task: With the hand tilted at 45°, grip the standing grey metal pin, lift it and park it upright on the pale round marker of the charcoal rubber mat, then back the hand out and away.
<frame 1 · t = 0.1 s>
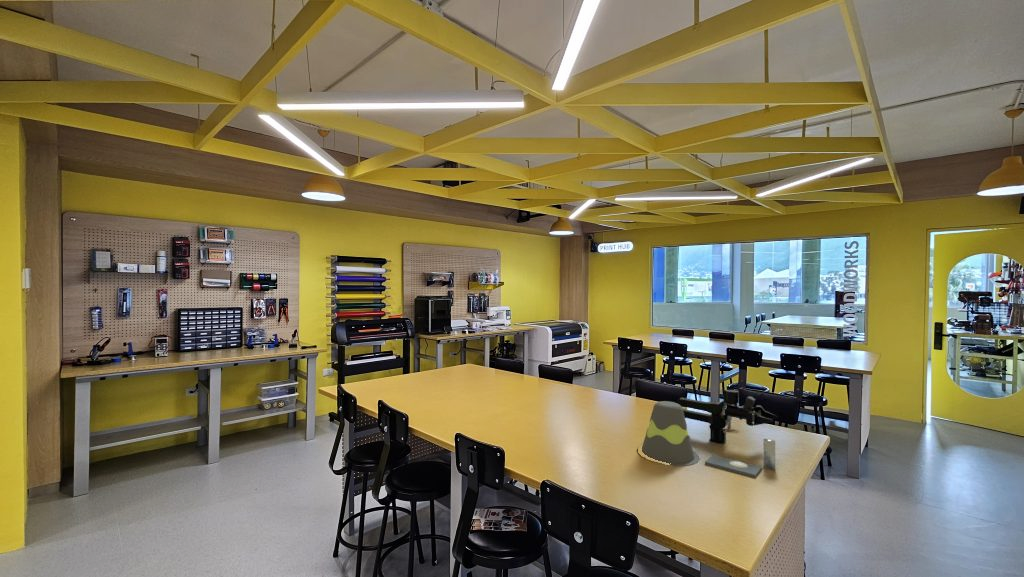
hand: (774, 418, 201), 17 cm above the table, tool horizontal, fingers open, 9 cm apart
metal pin: (769, 467, 185), on the table
mechanical component: (729, 427, 240), on the table
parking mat: (732, 466, 185), on the table
grey tapered cylinder: (667, 454, 200), on the table
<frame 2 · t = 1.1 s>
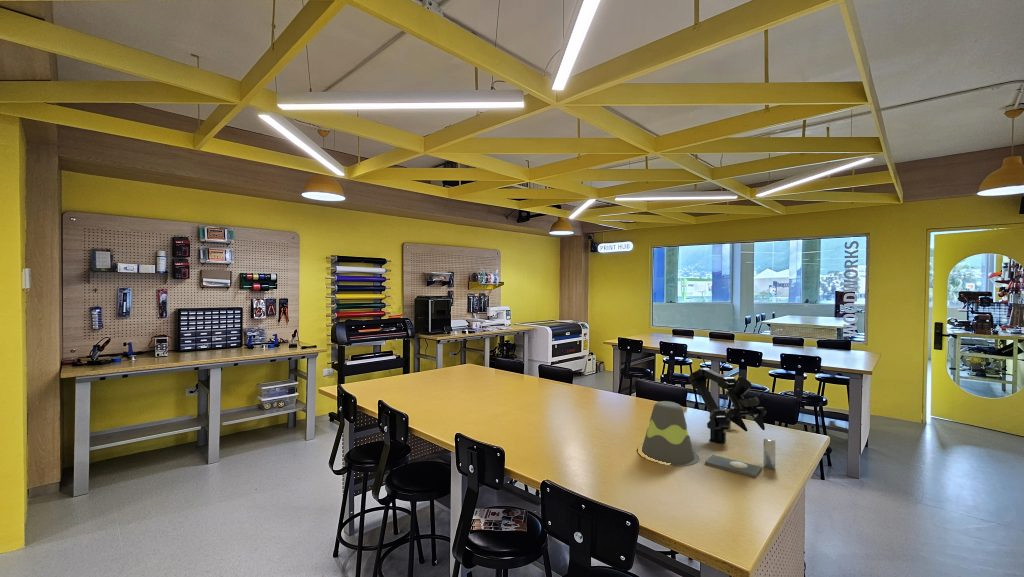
hand: (755, 430, 193), 14 cm above the table, tool tilted 45°, fingers open, 9 cm apart
nothing on the table moved.
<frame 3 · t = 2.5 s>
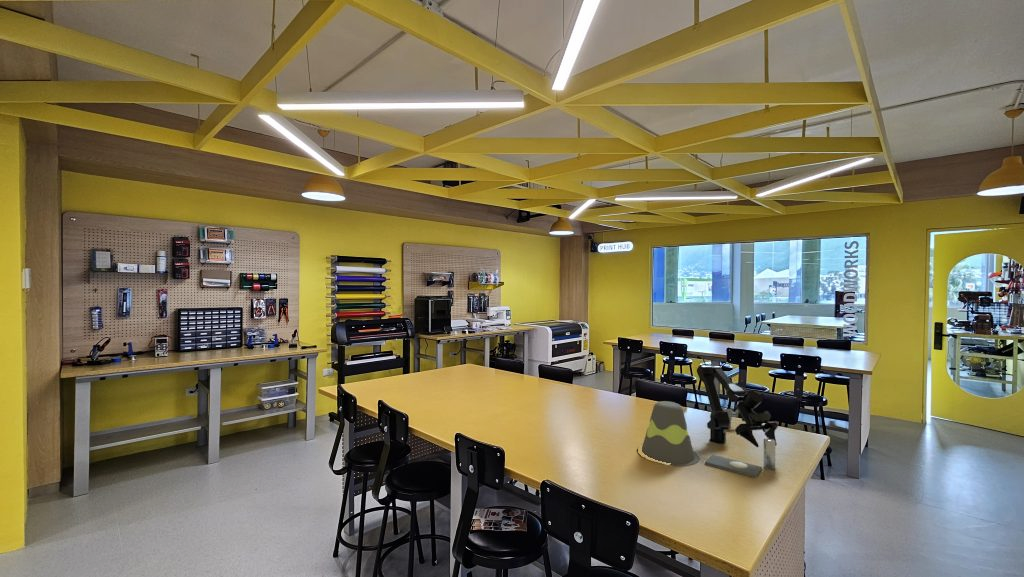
hand: (766, 446, 186), 9 cm above the table, tool tilted 45°, fingers open, 9 cm apart
nothing on the table moved.
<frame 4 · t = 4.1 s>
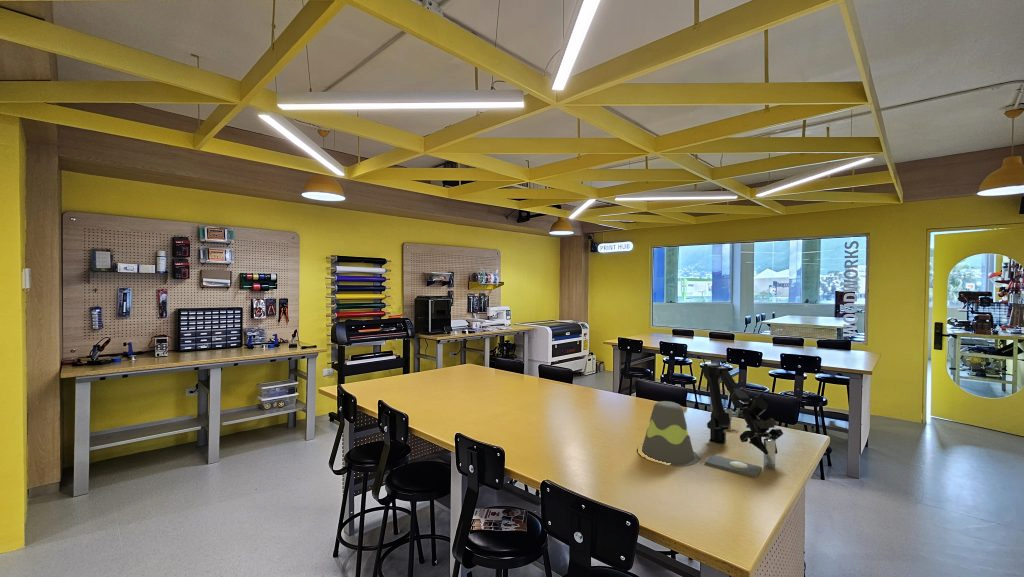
hand: (772, 453, 183), 7 cm above the table, tool tilted 45°, fingers closed on metal pin, 4 cm apart
metal pin: (769, 467, 185), on the table, touching gripper
everything else where it was.
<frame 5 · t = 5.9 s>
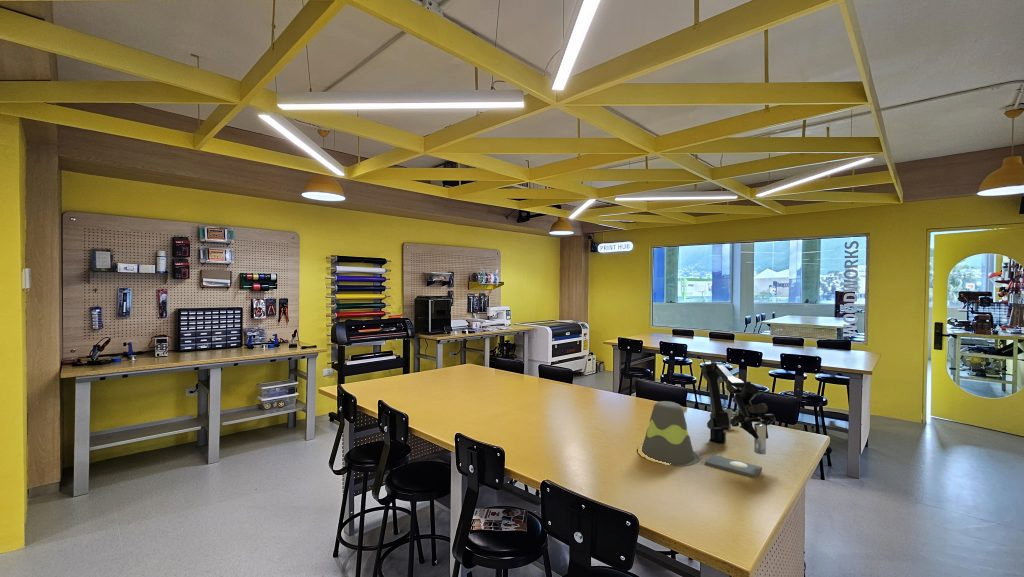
hand: (762, 438, 183), 13 cm above the table, tool tilted 45°, fingers closed on metal pin, 4 cm apart
metal pin: (760, 452, 184), point 7 cm above the table, touching gripper
everything else where it was.
when the fingers open (9 cm above the table, at t = 8.2 s): metal pin drops 1 cm, resting on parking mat.
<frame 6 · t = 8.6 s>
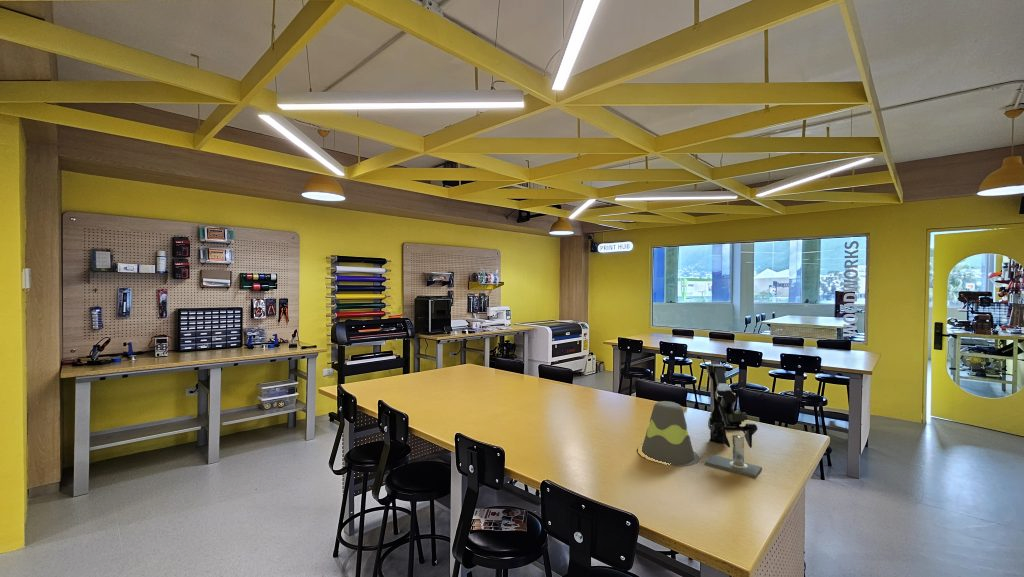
hand: (740, 447, 183), 9 cm above the table, tool tilted 45°, fingers open, 9 cm apart
metal pin: (738, 464, 185), point 1 cm above the table, touching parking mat
everything else where it was.
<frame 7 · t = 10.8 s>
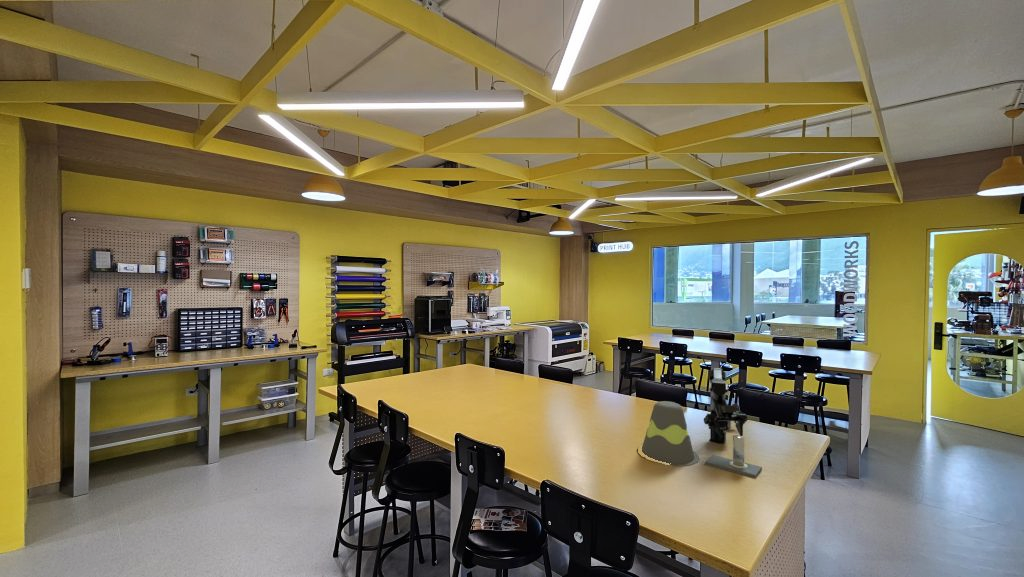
hand: (731, 436, 193), 11 cm above the table, tool tilted 40°, fingers open, 9 cm apart
nothing on the table moved.
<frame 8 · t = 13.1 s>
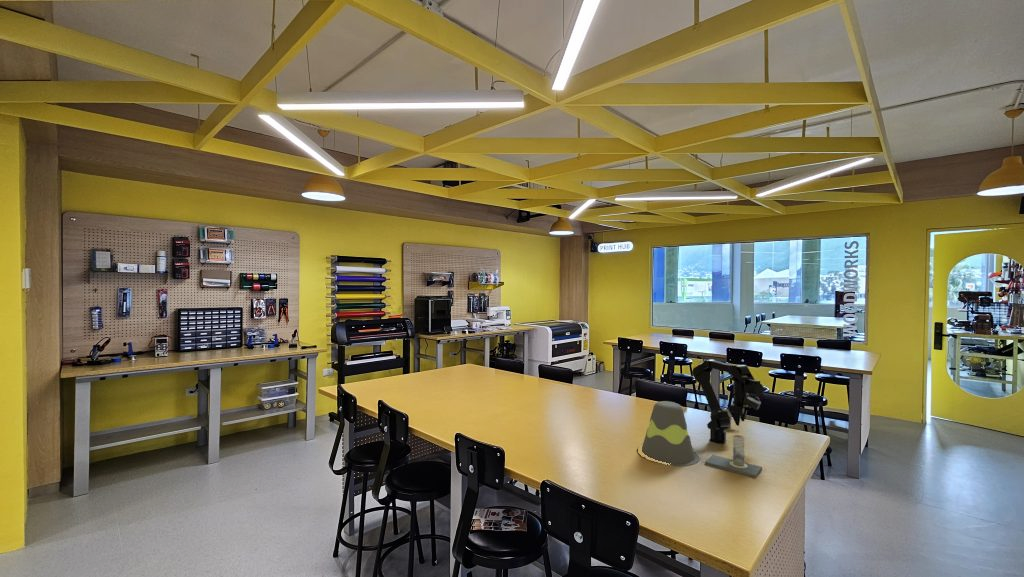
hand: (740, 423, 205), 13 cm above the table, tool pointing down, fingers open, 9 cm apart
nothing on the table moved.
at the end: metal pin inside the target area on the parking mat (0.1 cm from its centre), point 1.3 cm above the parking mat's base; metal pin tilted 0°; the gripper is holding nothing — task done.
